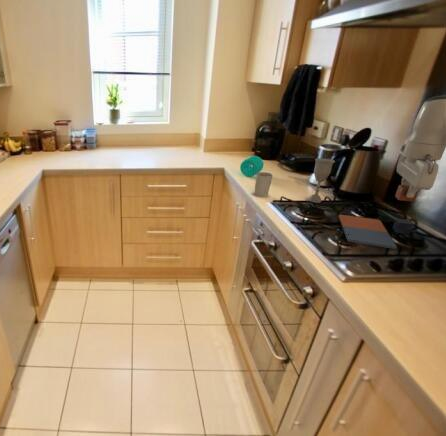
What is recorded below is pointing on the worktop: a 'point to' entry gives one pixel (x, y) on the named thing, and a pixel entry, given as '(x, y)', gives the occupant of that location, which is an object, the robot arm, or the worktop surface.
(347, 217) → the board
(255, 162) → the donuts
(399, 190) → the terracotta block
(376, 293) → the worktop surface
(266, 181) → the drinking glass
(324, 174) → the chalice
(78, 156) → the worktop surface
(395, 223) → the slate block
